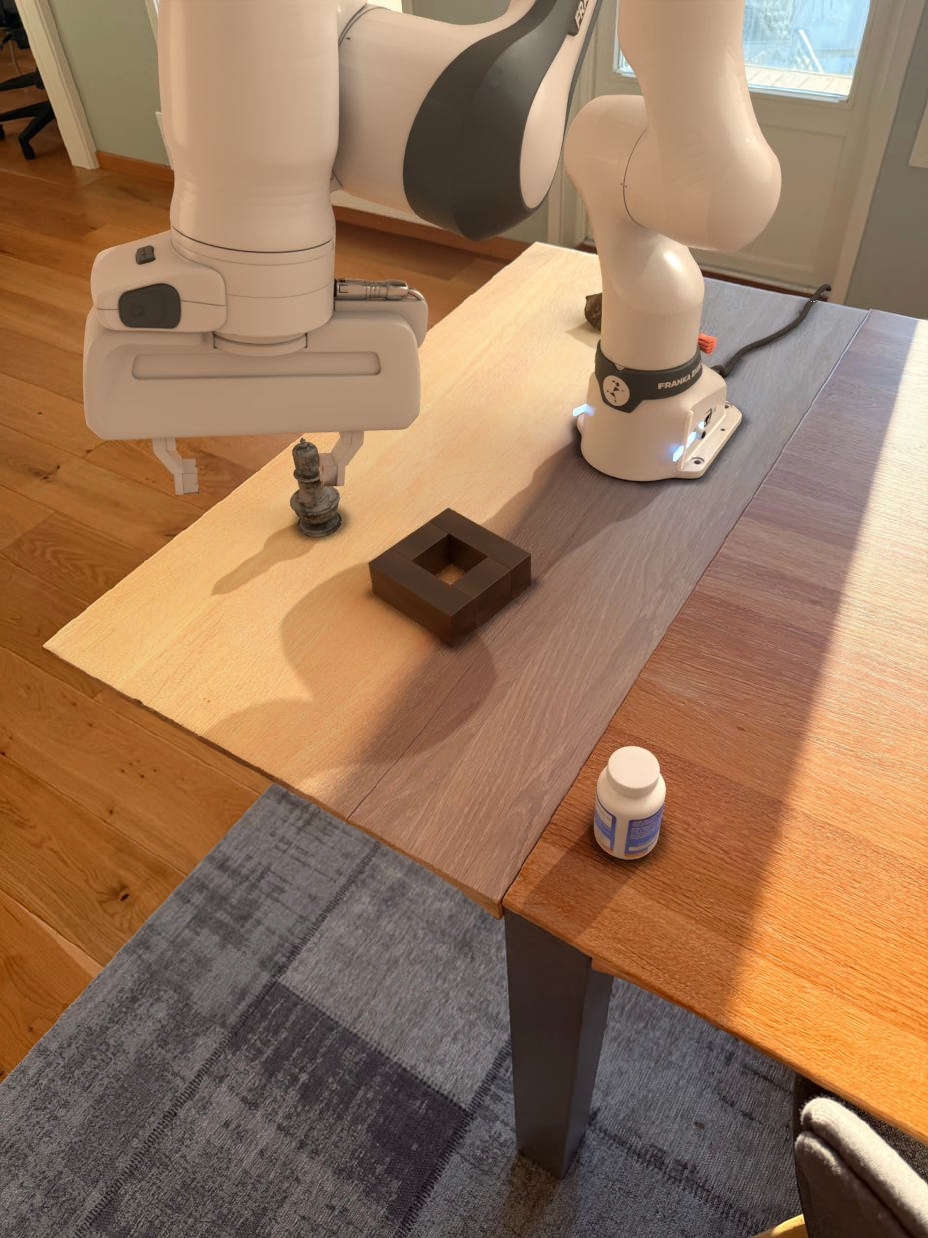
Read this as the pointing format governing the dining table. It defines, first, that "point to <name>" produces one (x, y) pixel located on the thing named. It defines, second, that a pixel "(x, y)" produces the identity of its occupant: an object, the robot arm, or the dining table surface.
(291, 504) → the grey metal finial
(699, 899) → the dining table surface
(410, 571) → the socket block
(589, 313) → the fossilized seashell
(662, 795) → the pill bottle
